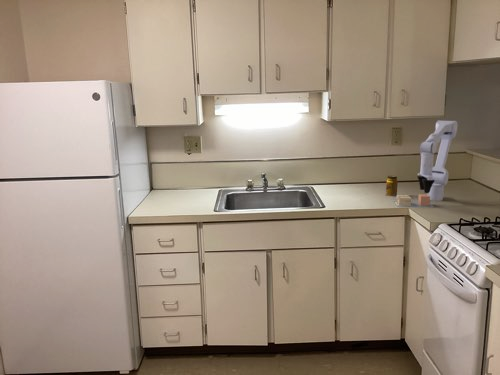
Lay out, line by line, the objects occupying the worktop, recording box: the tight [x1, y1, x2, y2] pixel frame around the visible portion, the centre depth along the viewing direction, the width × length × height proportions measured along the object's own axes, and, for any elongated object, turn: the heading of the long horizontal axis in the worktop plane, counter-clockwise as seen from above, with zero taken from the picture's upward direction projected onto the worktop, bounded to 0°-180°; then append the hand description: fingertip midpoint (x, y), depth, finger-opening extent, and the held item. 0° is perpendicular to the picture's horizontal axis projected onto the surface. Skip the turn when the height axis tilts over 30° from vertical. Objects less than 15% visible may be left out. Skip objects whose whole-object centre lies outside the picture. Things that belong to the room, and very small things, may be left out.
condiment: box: [385, 175, 398, 197], centre depth 241 cm, size 7×8×12 cm
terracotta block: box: [417, 193, 431, 206], centre depth 219 cm, size 4×4×5 cm
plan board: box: [392, 200, 435, 208], centre depth 222 cm, size 12×18×1 cm, turn 84°
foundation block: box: [395, 194, 412, 205], centre depth 222 cm, size 6×6×4 cm
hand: (424, 191), depth 218 cm, fingers open, 7 cm apart
